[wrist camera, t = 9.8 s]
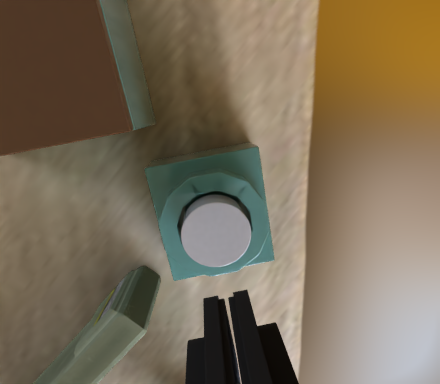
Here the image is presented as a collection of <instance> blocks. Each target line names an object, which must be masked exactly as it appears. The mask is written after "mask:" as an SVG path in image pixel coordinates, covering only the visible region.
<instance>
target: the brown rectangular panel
mask: <svg viewBox="0 0 440 384" xmlns="http://www.w3.org/2000/svg"><path fill="white" fill-rule="evenodd" d="M132 130H134V128H133V124H132V120H131V116H130V113H129V109H128V105H127V102H126V98H125V94H124V90H123V87H122V83H121V79H120V75H119V72H118V68H117V64H116V60H115V57H114V53H113V49H112V46H111V42H110V38H109V34H108V31H107V27H106V23H105V19H104V16H103V12H102V8H101V4H100V1H99V0H0V156H4V155H10V154H15V153H20V152H25V151H30V150H36V149H41V148H46V147H51V146H56V145H62V144H67V143H72V142H77V141H83V140H88V139H93V138H98V137H103V136H109V135H114V134H119V133H124V132H129V131H132Z"/></svg>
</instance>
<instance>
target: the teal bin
mask: <svg viewBox="0 0 440 384" xmlns="http://www.w3.org/2000/svg"><path fill="white" fill-rule="evenodd" d="M99 1H100V4H101V8H102V12H103V16H104V19H105V23H106V27H107V31H108V34H109V38H110V42H111V46H112V49H113V53H114V57H115V60H116V64H117V68H118V72H119V75H120V79H121V83H122V87H123V90H124V94H125V98H126V102H127V105H128V109H129V113H130V116H131V120H132V124H133V128H134V130H136V129H140V128H144V127H147V126H151V125H154V124H156V119H155V115H154V111H153V107H152V103H151V99H150V95H149V90H148V86H147V82H146V78H145V74H144V70H143V66H142V61H141V57H140V53H139V49H138V45H137V41H136V37H135V32H134V28H133V24H132V20H131V16H130V12H129V8H128V3H127V0H99Z"/></svg>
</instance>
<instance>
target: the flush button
mask: <svg viewBox="0 0 440 384" xmlns="http://www.w3.org/2000/svg"><path fill="white" fill-rule="evenodd" d="M250 240H251V227H250V224H249V221H248V219H247V217H246V214H245V212H244V210H243V209H242V207H241V206H240V205H239V204H238V203H237V202H236V201H235V200H233V199H231V198H230V197H227V196H224V195H218V194H214V195H207V196H204V197H201V198H199V199H197V200H196V201H195V202H193V203H192V204H191V205H190V206H189V208H188V209H187V211H186V212H185V215H184V217H183V222H182V229H181V241H182V245H183V247H184V250H185V251H186V253H187V254H188V255H189V256H190V257H191V258H192V259H193V260H194V261H196V262H197V263H199V264H202V265H205V266H209V267H221V266H226V265H229V264H231V263H233V262H235V261H236V260H238V259H239V258H240V257H241V256H242V255H243V254H244V253H245V251H246V250H247V248H248V246H249V244H250Z"/></svg>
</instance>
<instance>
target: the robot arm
mask: <svg viewBox="0 0 440 384" xmlns="http://www.w3.org/2000/svg"><path fill="white" fill-rule="evenodd" d="M233 294H234V297H229V298H228V299H229V305H230V311H231V318H232V324H233V330H234V337H235V343H236V350H237V356H238V362H239V369H240V375H241V381H242V384H299V383H298V381H297V378H296V375H295V372H294V370H293V367H292V364H291V362H290V359H289V356H288V353H287V351H286V348H285V345H284V343H283V340H282V337H281V335H280V332H279V329H278V327H277V324H276V323H271V324H266V325H261V326H257V324H256V321H255V317H254V313H253V310H252V306H251V302H250V299H249V295H248V291H247V290H243V291H238V292H233ZM185 384H241V383H240V377H239V370H238V364H237V358H236V353H235V348H234V344H233V339H232V334H231V329H230V325H229V320H228V315H227V310H226V305H225V301H224V299H219V298H218V296H214V297H209V298H204V337H203V338H198V339H193V340H189V341H188V345H187V362H186V381H185Z"/></svg>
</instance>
